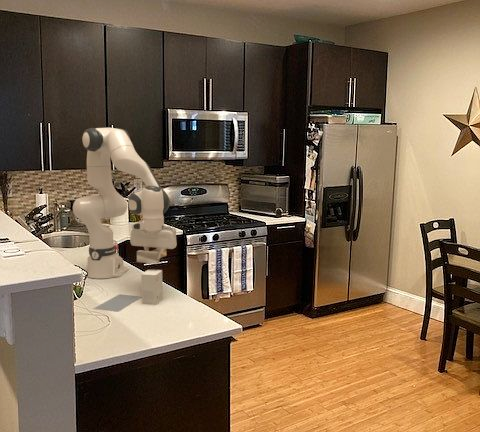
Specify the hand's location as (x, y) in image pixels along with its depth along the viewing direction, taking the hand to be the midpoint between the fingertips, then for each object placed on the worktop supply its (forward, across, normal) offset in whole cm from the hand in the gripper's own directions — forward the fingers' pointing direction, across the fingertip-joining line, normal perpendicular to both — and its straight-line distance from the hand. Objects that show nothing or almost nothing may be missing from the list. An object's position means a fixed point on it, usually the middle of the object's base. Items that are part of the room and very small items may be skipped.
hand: (153, 257), depth 220 cm
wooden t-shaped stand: (+1, 0, -1) cm, 2 cm away
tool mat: (+17, +9, +14) cm, 24 cm away
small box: (+17, -3, +8) cm, 19 cm away
